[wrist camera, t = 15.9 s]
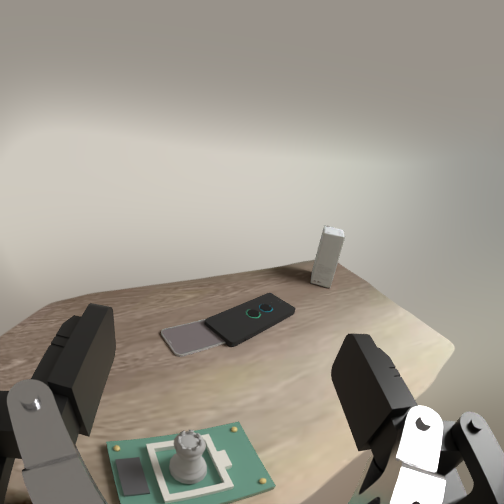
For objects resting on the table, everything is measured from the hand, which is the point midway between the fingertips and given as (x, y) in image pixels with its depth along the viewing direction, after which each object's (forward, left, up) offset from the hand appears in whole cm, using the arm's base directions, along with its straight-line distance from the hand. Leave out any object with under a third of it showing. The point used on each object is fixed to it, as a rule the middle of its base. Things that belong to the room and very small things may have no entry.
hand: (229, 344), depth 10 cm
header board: (+2, +8, -30) cm, 31 cm away
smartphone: (+13, +34, -31) cm, 48 cm away
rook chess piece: (+2, +8, -29) cm, 30 cm away
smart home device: (+25, +37, -31) cm, 54 cm away
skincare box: (+52, +50, -30) cm, 79 cm away
